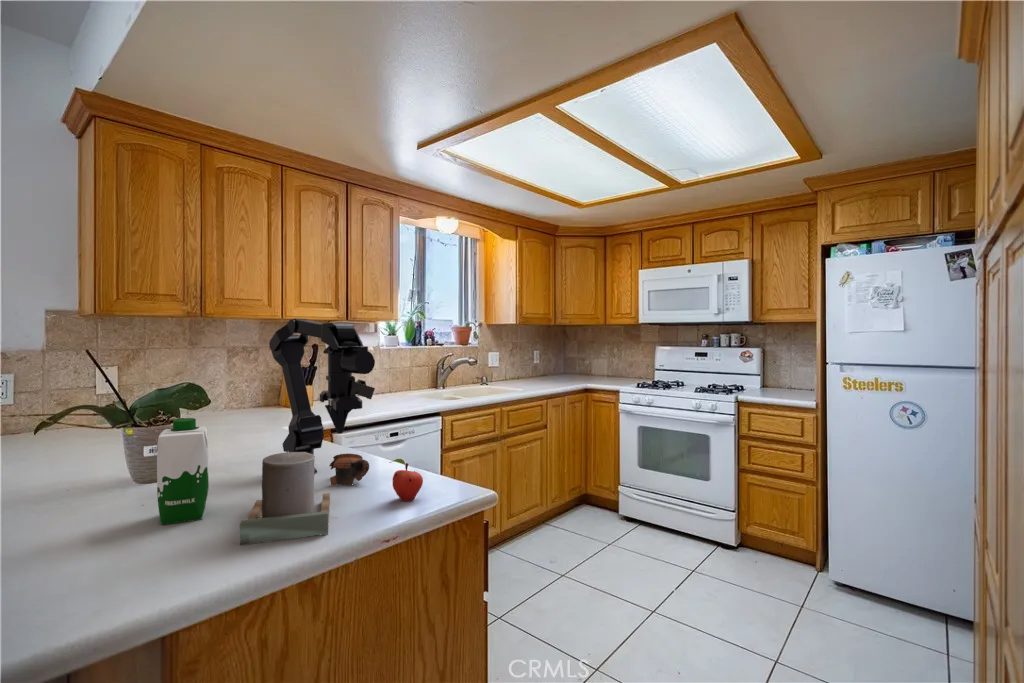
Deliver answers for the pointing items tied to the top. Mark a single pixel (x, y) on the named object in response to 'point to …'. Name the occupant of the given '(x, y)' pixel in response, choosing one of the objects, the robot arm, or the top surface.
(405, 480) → the apple
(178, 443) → the milk carton
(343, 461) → the pottery mug
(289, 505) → the pillar candle
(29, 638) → the top surface
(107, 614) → the top surface
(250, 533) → the channel
